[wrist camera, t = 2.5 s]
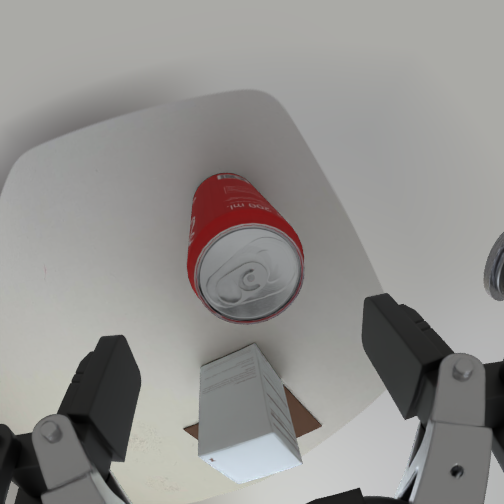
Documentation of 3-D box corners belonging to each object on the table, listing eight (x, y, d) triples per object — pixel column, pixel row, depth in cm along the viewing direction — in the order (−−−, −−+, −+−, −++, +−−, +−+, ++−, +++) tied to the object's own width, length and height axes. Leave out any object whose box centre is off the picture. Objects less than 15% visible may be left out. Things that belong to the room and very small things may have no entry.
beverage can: (185, 182, 27) (147, 236, 13) (258, 162, 27) (298, 197, 13) (204, 243, 29) (191, 347, 15) (273, 226, 29) (319, 315, 15)
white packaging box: (230, 401, 37) (236, 486, 25) (199, 365, 34) (194, 457, 22) (283, 380, 36) (304, 465, 24) (256, 340, 33) (273, 433, 22)
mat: (283, 384, 36) (283, 385, 36) (321, 425, 41) (321, 426, 40) (183, 428, 38) (183, 429, 38) (232, 461, 43) (232, 462, 42)
